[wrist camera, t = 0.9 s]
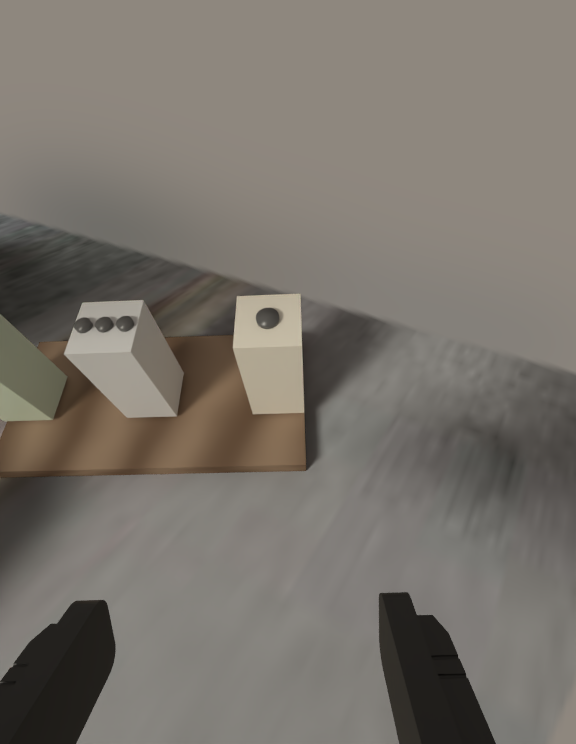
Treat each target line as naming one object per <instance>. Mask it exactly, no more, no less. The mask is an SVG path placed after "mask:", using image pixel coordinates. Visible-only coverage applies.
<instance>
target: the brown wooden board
mask: <svg viewBox="0 0 576 744" xmlns="http://www.w3.org/2000/svg"><path fill="white" fill-rule="evenodd" d="M164 338H165V340H166V341H167V343H168V345H169V347H170V349H171V351H172V352H173V354H174V356H175V358H176V360H177V361H178V363H179V365H180V367H181V369H182V370H183V372H184V375H183V381H182V388H181V394H180V400H179V407H178V413H177V416H174V417H139V418H127V417H126V416H125V415H124V414H123V413H122V412H121V411H120V410H119V409H118V408H117V407H116V406H115V405H114V404H113V403H112V402H111V401H110V400H109V399H108V398H107V397H106V396H105V395H104V394H103V393H102V392H101V391H100V390H99V389H98V388H97V387H96V386H95V385H94V384H93V383H92V382H91V381H90V380H89V379H88V378H87V377H86V376H85V375H84V374H83V373H82V372H81V371H80V370H79V369H78V368H77V367H76V366H75V365H74V364H73V363H72V362H71V361H70V360H69V359H68V358H67V357H66V356H65V355H64V352H65V350H66V347H67V344H68V341H55V342H39V345H38V347H37V349H38V350H40V351H41V352H42V353H43V354H44V355H45V356H46V357H47V358H48V359H49V360H50V361H51V362H52V363H54V364H55V365H56V366H57V367H58V368H59V369H60V370H61V371H62V372H63V373H64V374H65V375H66V376H68V377H67V380H66V383H65V386H64V389H63V392H62V395H61V398H60V401H59V404H58V407H57V409H56V412H55V415H54V418H53V420H33V421H7V424H6V426H5V429H4V431H3V433H2V436H1V438H0V477H1V478H3V477H48V476H93V475H138V474H183V473H228V472H273V471H306V449H305V418H304V413H280V414H253V413H252V410H251V406H250V403H249V400H248V396H247V393H246V390H245V387H244V383H243V380H242V377H241V374H240V370H239V367H238V364H237V361H236V357H235V354H234V351H233V339H234V335H218V336H191V337H164ZM302 357H303V356H302Z"/></svg>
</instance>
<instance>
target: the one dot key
mask: <svg viewBox="0 0 576 744" xmlns="http://www.w3.org/2000/svg"><path fill="white" fill-rule="evenodd" d="M233 351H234V354H235V357H236V361H237V364H238V367H239V370H240V374H241V377H242V380H243V383H244V387H245V390H246V393H247V396H248V400H249V403H250V406H251V410H252V413H253V414H280V413H304V387H303V357H302V327H301V298H300V294H280V295H255V296H237V303H236V315H235V327H234V339H233Z"/></svg>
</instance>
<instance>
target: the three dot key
mask: <svg viewBox="0 0 576 744" xmlns="http://www.w3.org/2000/svg"><path fill="white" fill-rule="evenodd" d="M64 355H65V356H66V357H67V358H68V359H69V360H70V361H71V362H72V363H73V364H74V365H75V366H76V367H77V368H78V369H79V370H80V371H81V372H82V373H83V374H84V375H85V376H86V377H87V378H88V379H89V380H90V381H91V382H92V383H93V384H94V385H95V386H96V387H97V388H98V389H99V390H100V391H101V392H102V393H103V394H104V395H105V396H106V397H107V398H108V399H109V400H110V401H111V402H112V403H113V404H114V405H115V406H116V407H117V408H118V409H119V410H120V411H121V412H122V413H123V414H124V415H125V416H126V417H127V418H139V417H174V416H177V413H178V407H179V400H180V394H181V388H182V381H183V375H184V372H183V370H182V369H181V367H180V365H179V363H178V361H177V360H176V358H175V356H174V354H173V352H172V351H171V349H170V347H169V345H168V343H167V341H166V340H165V338H164V336H163V334H162V332H161V331H160V329H159V327H158V325H157V323H156V322H155V320H154V318H153V316H152V314H151V313H150V311H149V309H148V307H147V305H146V303H145V302H144V300H133V301H108V302H84V303H82V305H81V308H80V311H79V313H78V316H77V319H76V322H75V323H74V327H73V330H72V333H71V336H70V338H69V341H68V344H67V347H66V350H65V352H64Z"/></svg>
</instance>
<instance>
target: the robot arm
mask: <svg viewBox="0 0 576 744" xmlns="http://www.w3.org/2000/svg"><path fill="white" fill-rule="evenodd" d="M379 643H380V653H381V660H382V666H383V671H384V676H385V680H386V685H387V689H388V694H389V699H390V703H391V708H392V712H393V717H394V721H395V726H396V731H397V735H398V740H399V744H496V743H495V741H494V738H493V736H492V734H491V731H490V729H489V727H488V724H487V722H486V720H485V717H484V715H483V713H482V710H481V708H480V706H479V703H478V701H477V699H476V696H475V694H474V692H473V689H472V687H471V685H470V682H469V680H468V678H467V677H466V673H465V670H464V668H463V666H462V663H461V661H460V659H459V658H458V654H457V652H456V649H455V647H454V645H453V642H452V640H451V638H450V635H449V633H448V632H447V631H446V630H445V629H444V627H443V626H442V625H441V624H440V623H439V622H438V621H437V620H436V618H435V617H434V616H433V615H417V614H416V612H415V609H414V606H413V603H412V600H411V598H410V595H409V594H408V593H407V592H402V593H380V594H379ZM114 658H115V640H114V635H113V630H112V625H111V620H110V615H109V610H108V606H107V603H106V601H104V600H88V601H75V602H73V603H72V604H71V605H70V607H69V608H68V609H67V611H66V612H65V614H64V615H63V616H62V618H61V619H60V621H59V622H58V623H57V624H50V625H49V626H48V627H47V628H45V629H44V630H43V631H42V632H41V633H40V634H38V635H37V636H36V637H35V638H34V639H33V640H31V641H30V642H29V644H28V645H27V646H26V648H25V649H24V650H23V652H22V653H21V654H20V656H19V657H18V658H17V660H16V661H15V662H14V666H13V667H12V668H10V669H9V670H8V672H7V673H6V674H5V676H4V677H3V678H2V680H1V681H0V744H76V743H77V741H78V738H79V736H80V734H81V732H82V730H83V728H84V726H85V724H86V722H87V720H88V718H89V716H90V714H91V712H92V709H93V707H94V705H95V703H96V701H97V699H98V697H99V695H100V693H101V691H102V689H103V687H104V685H105V683H106V680H107V678H108V676H109V674H110V672H111V669H112V666H113V663H114Z"/></svg>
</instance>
